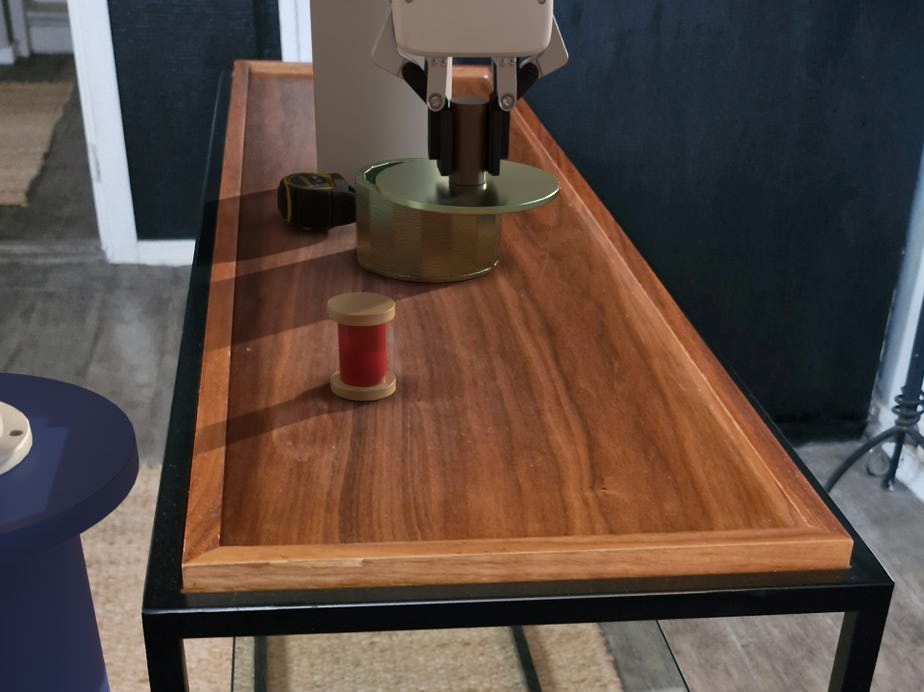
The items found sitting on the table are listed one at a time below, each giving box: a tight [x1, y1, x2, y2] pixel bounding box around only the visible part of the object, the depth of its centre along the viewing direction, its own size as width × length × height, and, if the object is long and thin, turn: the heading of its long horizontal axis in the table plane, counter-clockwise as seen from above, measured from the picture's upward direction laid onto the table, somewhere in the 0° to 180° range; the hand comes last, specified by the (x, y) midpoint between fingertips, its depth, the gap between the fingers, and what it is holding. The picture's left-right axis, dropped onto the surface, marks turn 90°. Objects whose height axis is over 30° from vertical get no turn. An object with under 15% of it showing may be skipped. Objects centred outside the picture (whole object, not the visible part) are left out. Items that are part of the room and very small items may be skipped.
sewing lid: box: [376, 95, 560, 216], centre depth 82 cm, size 13×13×6 cm
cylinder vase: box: [309, 0, 453, 189], centre depth 108 cm, size 12×12×25 cm
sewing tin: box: [354, 158, 503, 284], centre depth 98 cm, size 12×12×6 cm
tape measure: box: [276, 171, 356, 231], centre depth 105 cm, size 7×7×4 cm
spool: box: [326, 291, 397, 402], centre depth 77 cm, size 4×4×6 cm
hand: (467, 168), depth 83 cm, fingers closed on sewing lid, 2 cm apart
